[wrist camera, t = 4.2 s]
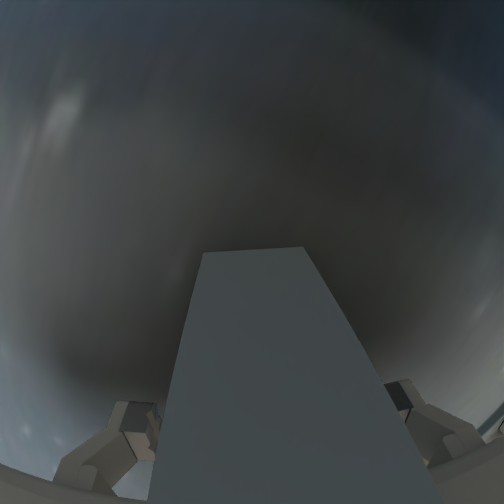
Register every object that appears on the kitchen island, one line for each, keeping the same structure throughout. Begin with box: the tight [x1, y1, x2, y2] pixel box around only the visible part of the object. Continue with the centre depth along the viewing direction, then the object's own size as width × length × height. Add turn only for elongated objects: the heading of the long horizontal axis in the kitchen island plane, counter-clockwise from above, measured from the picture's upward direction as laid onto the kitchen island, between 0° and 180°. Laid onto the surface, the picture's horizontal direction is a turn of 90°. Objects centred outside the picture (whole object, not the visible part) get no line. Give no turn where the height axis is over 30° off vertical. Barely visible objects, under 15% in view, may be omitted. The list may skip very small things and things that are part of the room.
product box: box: [147, 247, 444, 504], centre depth 10 cm, size 4×9×13 cm, turn 3°
